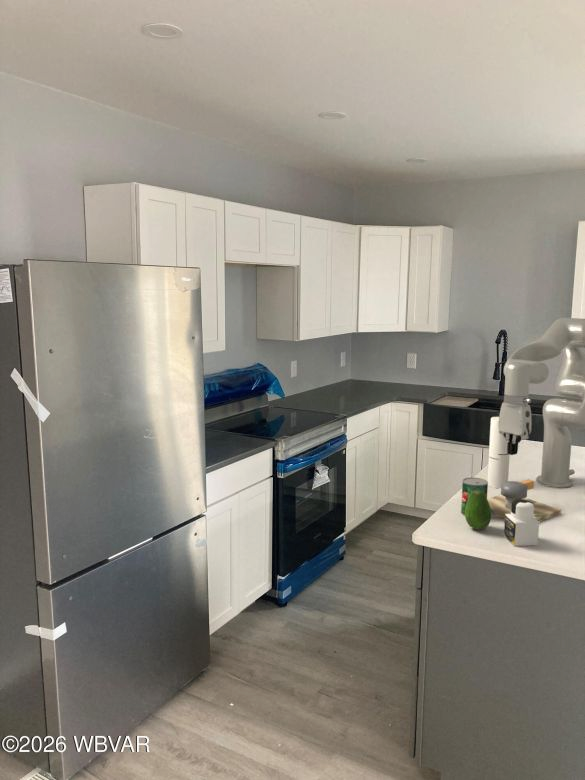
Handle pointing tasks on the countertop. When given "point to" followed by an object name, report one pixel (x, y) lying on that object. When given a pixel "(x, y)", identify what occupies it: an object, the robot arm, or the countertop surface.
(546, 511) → the plate
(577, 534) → the countertop surface
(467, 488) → the canned tomato
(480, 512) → the avocado
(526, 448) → the countertop surface
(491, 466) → the cylindrical container
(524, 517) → the medicine bottle
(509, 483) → the grey paddle
